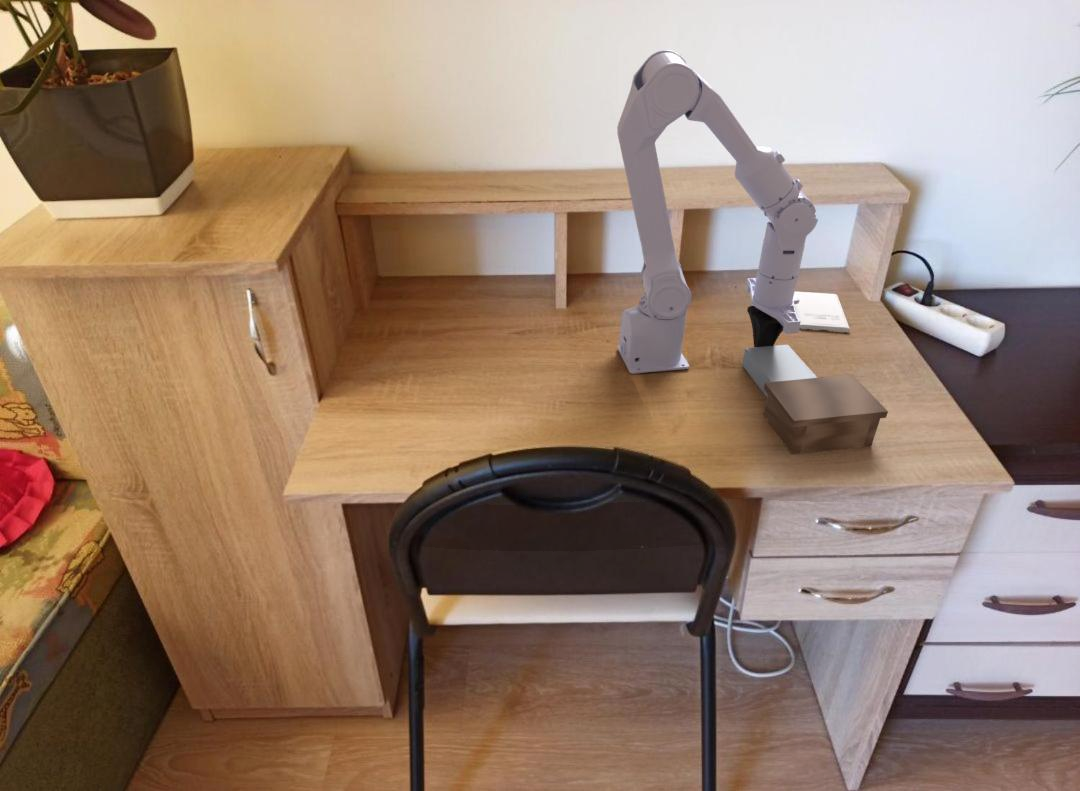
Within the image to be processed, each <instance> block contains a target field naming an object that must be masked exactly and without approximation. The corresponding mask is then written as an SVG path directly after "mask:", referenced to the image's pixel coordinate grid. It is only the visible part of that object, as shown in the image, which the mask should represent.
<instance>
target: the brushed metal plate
mask: <svg viewBox="0 0 1080 791" xmlns="http://www.w3.org/2000/svg"><path fill="white" fill-rule="evenodd" d="M743 352H744V353H743V357H742V362H741V365H742V367H743V368H744V369H745V370H746V372H747V373H748V375H749V376H750V377H751V379H752V381H754V382H755V384H756V385H757V386H758V388H759V389H760V391H761V392H762V393H763V394H764V396H765V397H766V398H767V395H768V394H767V393H766V391H765V390H764V384H765V383H766V382H777V381H788V380H798V379H809V378H818V377H817V375H816V374H815V373H814V372H813V371H812V370H811V368H809V367H808V365H807V364H806V363H805V362H804V361H803V360H802V358H800V357H799V355H798V354H797V353H796V352H795V351H794V349H792V347H791V346H790V345H789V344H778V345H777V344H776V345H773V346H765V347H754V346H753V347H745V348H744V351H743Z"/></svg>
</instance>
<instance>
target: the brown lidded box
mask: <svg viewBox="0 0 1080 791" xmlns="http://www.w3.org/2000/svg"><path fill="white" fill-rule="evenodd" d="M764 390H765V391H766V393H767V394H768V395H767V397H766V400H765V406H764V409H763V416H764V418H765V419H766V421H767V420H768V421H767V422H768V424H769V425H770V426H771V428H772V429H773V430H774V432H775V433H776V434H777V436H778V437H779V439H780V440H781V441H782V443H783V445H784V446H785V447H786V449H787V450H788V451H789V453H790V454H791V455H796V454H798V455H799V454H807V453H814V452H824V451H825V452H826V451H834V450H845V449H854V448H860V447H871V446H872V445H873V444H874V442H873V441H874V439H875V436H876V432H877V429H878V426H879V423H880V420H881V419H886V418H887V416H888V413H889V411H888V410H887V409H886V407H885V406H883V404H881V402H880V401H879V400H878V399H877V398H876V397H875V396H874V395H873V394H872V393H871V392H870V391H869V390H868V389H867V388H866V387H865V386H864V385H863V384H862V382H861V381H859V379H857V377H856V376H855V375H854V374H843V375H833V376H823V377H817V378H809V379H798V380H788V381H777V382H766V383H765V384H764Z"/></svg>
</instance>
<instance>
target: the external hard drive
mask: <svg viewBox="0 0 1080 791" xmlns="http://www.w3.org/2000/svg"><path fill="white" fill-rule="evenodd" d="M794 295H796V296H797V297H798V298H799V303H798V304H794V305H795V309H796V314H797V317H798V319H799V320H800V321H801V322H800V327H799V330H806V329H810V330H809V331H827V332H830V333H831V332H832V331H833V332H834V333H844V332H847V333H850V329H851V328H850V326H849V323H848V321H847V320H848V319H847V317H846V315H845V313H844V310H843V307H842V304H841V302H840V298H839V296H838V295H837V294H836V293H827V292H826V293H824V292H811V291H810V292H808V291H796V290H795V292H794ZM800 328H801V329H800ZM811 329H812V330H811ZM833 332H832V333H833Z"/></svg>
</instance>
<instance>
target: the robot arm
mask: <svg viewBox="0 0 1080 791" xmlns="http://www.w3.org/2000/svg"><path fill="white" fill-rule="evenodd" d="M632 78H633V79H632V82H631V86H630V89H629V93H628V96H627V99H626V102H625V105H624V107H623V110H622V113H621V116H620V118H619V121H618V124H617V127H616V128H617V131H616V133H617V139H618V142H619V147H620V152H621V153H620V154H621V156H622V162H623V166H624V171H625V175H626V181H627V185H628V190H629V195H630V199H631V203H632V209H633V213H634V219H635V223H636V228H637V232H638V236H639V242H640V247H641V253H642V257H643V258H642V259H643V265H642V267H641V271H640V279H641V283H642V284H643V285H642V286H643V288H644V291H645V292H644V293H643V295H642V296H641V297H640V299H639V301H638V304H637V305H636V306H633V307H630V308H626V309H623V310H622V313H621V317H620V329H619V330H620V331H619V339H618V340H619V343H618V345H617V350H618V352H619V354H620V356H621V359H622V360H623V362H624V364H625V366H626V367H627V368H626V369H627V370H628V372H629V374H645V373H655V372H656V373H657V372H666V371H668V372H669V371H676V370H689V368H690V363H689V362H688V360H687V359H686V358H685V356H684V354H683V353H682V351H683V342H684V336H685V329H686V328H685V327H686V321H687V313H688V309H689V308H690V305H691V302H692V292H691V289H690V288H689V286H688V284H687V282H686V279H685V275H684V274H683V268H682V264H680V261H679V260H678V257H677V253H676V249H675V244H674V239H673V232H672V229H671V222H670V218H669V212H668V208H667V202H666V195H665V189H664V187H663V186H664V185H663V180H662V175H661V169H660V164H659V163H660V162H659V159H658V154H657V147H656V141H657V140H658V138H659V137H661V135H662V134H663V132H664V131H665V130H666V128H667V127H668V126H669V125H671V124H672V123H673V122H675V121H676V120H678V119H680V118H681V117H682V116H685V118H686V120H688V121H691V122H700V123H704V124H705V126H706V127H707V128H708V129H709V130H710V131H711V132H712V133H713V135H714V137H716V139H717V140H718V141H719V142H720V144H721V145H722V146H723V147H724V148H725V149H726V151H727V152H728V153H729V155H731V157H732V158H733V160H734V161H735V162H736V163H735V169H734V177H735V179H736V180H737V181H738V183H739V184H740V186H742V188H743V189H744V191H745V192H746V193H747V194H748V196H750V198H751V199H752V200H753V202H754V203H755V205H757V207H758V208H759V209H760V210H761V211H762V212H763V215H764V216H765V217H767V219H768V220H769V221H768V222H767V223H766V228H765V235H764V238H763V241H762V247H761V252H760V258H759V262H758V263H759V264H758V268H757V272H756V277H750V278H746V283H745V291H746V292H747V293H749V296H750V301H751V302H750V303H751V305H750V306H748V307H747V313H748V316H749V320H750V322H751V328H752V334H753V335H752V337H753V348H754V347H765V346H775V344H776V342H777V340H778V338H779V336H780V335H781V334H782V333H783V334H785V335H788V334H789V335H790V334H798V333H799V330H800V329H799V327H800V322H801V321H800V320H799V319H798V317H797V314H796V309H795V305H794V304H798V303H799V298H798V297H797V296H796V295H794V292H795V291H796V287H797V282H798V278H799V273H800V268H801V263H802V260H803V255H804V251H805V246H806V245H805V244H806V239H807V237H808V236H809V234H810V233H812V232H813V230H814V229H815V228H816V226H817V225H818V221H819V220H818V218H817V217H816V216H817V214H816V212H817V211H816V210H817V209H816V207H815V205H814V204H813V202H812V201H811V200H810V199H809V198H808V197H807V196H806V194H805V193H804V192H803V190H802V188H804V185H803V183H801V181H800V179H798V178H796V179H794V178H793V176H792V175H791V174H790V172H789V171H788V170H787V168H786V167H785V165H784V164H783V163H784V162H785V161H786V159H785V157H784V156H783V155H782V153H781V152H780V151H779V150H776V151H775V152H774V151H773V149H772V148H771V147H768V146H758V145H755V143H754V142H753V140H752V139H751V137H749V135H748V133H747V132H746V131H745V130H744V128H743V126H742V125H741V123H740V121H739V120H737V117H736V116H735V115H734V113H733V112H732V110H731V109H730V108H729V107H728V105H727V103H725V101H724V99H723V98H722V96H720V94H719V93H718V91H716V90H715V88H714V87H713V86H712V85H711V84H710V83H709V82H708V81H707V80H706V79H704V77H703V76H702V75H701V74H700V73H698V72H697V71H696V70H695V68H693V67H690V66H688V64H687V62H686V60H685V59H684V57H683V56H682V55H681V54H679V53H678V52H676V51H673V50H671V49H670V50H669V49H662V50H658V51H656V52H654V53H653V54H651V55H650V56H649V57H648V58H646V60H645V61H644V63H642V64H641V66H640V67H639V69H638V70H637V71H636V72H635V74H634V75H633V77H632Z"/></svg>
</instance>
